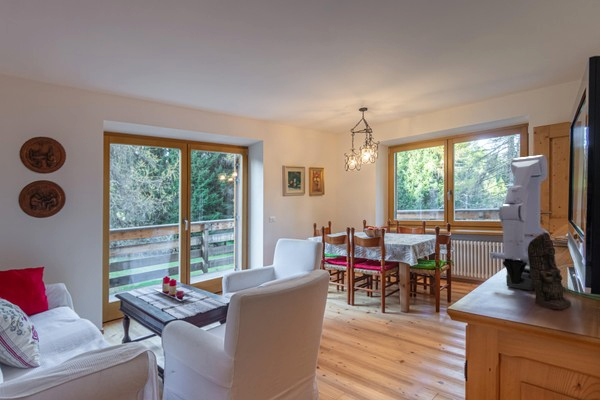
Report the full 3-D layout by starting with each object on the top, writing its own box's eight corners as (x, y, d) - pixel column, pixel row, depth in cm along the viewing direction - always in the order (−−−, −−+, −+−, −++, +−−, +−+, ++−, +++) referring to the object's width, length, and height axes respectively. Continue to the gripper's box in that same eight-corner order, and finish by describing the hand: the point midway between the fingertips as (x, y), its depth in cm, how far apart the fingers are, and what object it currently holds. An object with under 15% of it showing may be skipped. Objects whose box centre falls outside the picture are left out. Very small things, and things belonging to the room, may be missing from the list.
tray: (522, 280, 110) (522, 270, 110) (546, 284, 104) (546, 274, 104) (506, 286, 105) (506, 275, 105) (530, 290, 99) (530, 279, 99)
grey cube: (522, 281, 107) (522, 269, 107) (536, 283, 104) (535, 271, 104) (516, 283, 105) (516, 271, 105) (530, 285, 102) (529, 273, 102)
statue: (559, 311, 81) (555, 233, 82) (529, 304, 88) (525, 232, 88) (572, 306, 84) (568, 231, 85) (542, 299, 91) (538, 230, 91)
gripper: (484, 240, 105) (485, 281, 105) (533, 244, 93) (536, 290, 93) (495, 238, 109) (497, 278, 109) (544, 242, 97) (547, 286, 96)
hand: (515, 283), depth 101 cm, fingers closed, pressing on tray
